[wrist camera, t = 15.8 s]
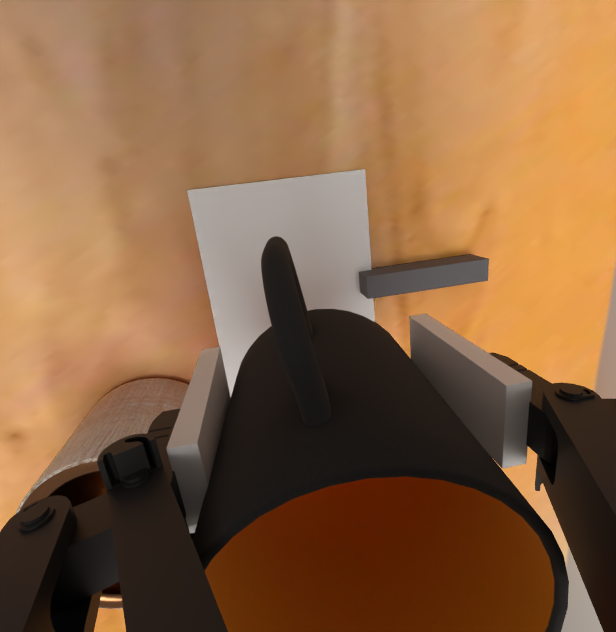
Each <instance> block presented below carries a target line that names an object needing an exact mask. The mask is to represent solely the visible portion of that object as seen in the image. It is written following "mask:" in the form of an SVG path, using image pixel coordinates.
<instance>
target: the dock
mask: <svg viewBox="0 0 616 632" xmlns="http://www.w3.org/2000/svg"><path fill="white" fill-rule="evenodd" d="M488 264H489V259H488V258H483V257H479V256H475V255H471V254H469V255H462V256H455V257H448V258H441V259H434V260H427V261H421V262H414V263H407V264H400V265H393V266H386V267H379V268H372V270H367V271H360V272H359V284H360V293H361V294H363V295H364V296H365V297H366V298H367V299H372V298H378V297H385V296H391V295H398V294H404V293H411V292H417V291H424V290H430V289H437V288H443V287H450V286H456V285H463V284H469V283H476V282H482V281H488Z"/></svg>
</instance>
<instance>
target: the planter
mask: <svg viewBox="0 0 616 632" xmlns="http://www.w3.org/2000/svg"><path fill="white" fill-rule="evenodd" d="M188 387H189V384H186V383H184V382H180V381H177V380H172V379H166V378H146V379H140V380H135V381H132V382H128V383H126V384H123V385H121V386H119V387H117V388H115V389H114V390H112V391H110V392H109V393H108V394H106V395H105V396H104V397H103V398H101V399H100V400H99V401H98V402H97V403H96V404H95V405H94V407H93V408H92V409H91V410H90V412H89V413H88V414H87V415H86V417H85V418H84V419H83V421H82V422H81V423H80V425H79V426H78V427H77V429H76V430H75V431H74V433H73V434H72V436H71V437H70V438H69V440H68V441H67V442H66V444H65V445H64V446H63V448H62V449H61V450H60V452H59V453H58V454H57V456H56V457H55V458H54V460H53V461H52V462H51V463H50V465H49V466H48V467H47V469H46V470H45V471H44V473H43V474H42V475H41V476H40V478H39V479H38V480H37V482H36V483H35V484H34V485H33V487H32V488H31V489H30V491H29V492H28V493H27V495H26V496H25V497H24V499H23V501H22V502H21V504H20V506H19V508H18V510H17V512H16V514H17V513H18V512H19V511H20V510H22V509H23V508H25V507H26V506H28V505H29V504H31V503H33V502H35V501H38V500H41V499H43V498H46V497H51V496H56V495H59V496H66V497H67V498H68V499H69V500H70V502H71V505H72V507H75V506H77V505H80V504H82V503H85V502H87V501H90V500H92V499H95V498H97V497H99V496H101V495H103V494H105V493H107V490H106V487H105V484H104V481H103V479H102V476H101V473H100V470H99V467H98V464H97V460H98V456H99V455H100V454H101V452H102V451H103V450H104V449H105V448H106V447H108V446H109V445H111V444H112V443H113V442H115V441H117V440H120V439H122V438H124V437H127V436H130V435H134V434H143V433H145V434H147V433H148V430H149V427H150V425H151V423H152V421H153V420H154V419H155V418H156V417H157V416H158V415H159V414H161V413H162V412H163V411H168V410H174V409H180V408H181V406H182V403H183V401H184V398H185V395H186V392H187V390H188ZM185 523H186V525H187V521H186V519H185ZM187 528H188V525H187ZM188 530H189V529H188ZM189 533H190V532H189ZM190 536H191V538H192V540H193V537H194V533H190ZM99 608H107V609H121V608H123V603H122V596H121V589H120V582H117V583H115V584H113V585H111V586H109V587H107V588H105V589H103V590H102V594H101V598H100V603H99Z"/></svg>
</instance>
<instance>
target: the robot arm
mask: <svg viewBox="0 0 616 632" xmlns="http://www.w3.org/2000/svg"><path fill="white" fill-rule="evenodd" d="M409 317H410V345H411V360H412V361H413V363H414V364H415V365H416V366H417V368H418V369H419V370H420V371H421V372H422V374H423V375H424V376H425V377H426V378H427V380H428V381H429V382H430V383H431V384H432V386H433V387H434V388H435V389H436V391H437V392H438V393H439V394H440V395H441V397H442V398H443V399H444V400H445V401H446V403H447V404H448V405H449V406H450V408H451V409H452V410H453V411H454V412H455V414H456V415H457V416H458V417H459V419H460V420H461V421H462V422H463V423H464V425H465V426H466V427H467V428H468V429H469V431H470V432H471V433H472V434H473V436H474V437H475V438H476V439H477V440H478V442H479V443H480V444H481V445H482V446H483V448H484V449H485V450H486V451H487V453H488V454H489V455H490V456H491V457H492V458H493V459H494V460H495V461H496V462H497V463H498V464H499V465H500V467H501V468H507V467H511V466H516V465H521V464H526V459H527V446H529V447H530V448H531V449H532V450H533V451H534V452H535V453H537V454H538V456H537V468H536V479H535V490H536V491H540V485H541V484H542V483H543V484H544V487H545V489H546V492H547V494H548V496H549V499H550V501H551V504H552V506H553V509H554V511H555V513H556V516H557V518H558V521H559V523H560V526H561V528H562V531H563V533H564V536H565V538H566V540H567V543H568V545H569V548H570V550H571V553H572V555H573V558H574V560H575V562H576V565H577V567H578V570H579V572H580V575H581V577H582V580H583V582H584V584H585V587H586V589H587V592H588V594H589V597H590V599H591V602H592V604H593V607H594V609H595V611H596V614H597V616H598V619H599V621H600V624H601V626H602V628H603V631H604V632H616V399H602V398H601V397H600V396H599V395H598V394H597V393H595V392H594V391H593V390H590V389H588V388H586V387H583V386H579V385H575V384H569V383H553V384H552V383H550V382H548V381H547V380H545V379H543V378H542V377H540V376H538V375H537V374H535V373H533V372H532V371H530V370H527V368H525V367H523V366H522V365H518V363H517V362H515V361H513V360H512V359H510V358H508V357H506V356H503V355H499V354H496V353H487V352H486V351H484V350H483V349H481V348H479V347H478V346H476V345H475V344H473V343H472V342H470V341H468V340H467V339H465V338H464V337H462V336H460V335H459V334H457V333H456V332H454V331H453V330H451V329H449V328H448V327H446V326H445V325H443V324H441V323H440V322H438V321H437V320H435V319H434V318H432V317H430V316H429V315H427V314H421V315H414V316H409ZM230 399H231V397H230V392H229V387H228V382H227V377H226V373H225V368H224V363H223V358H222V353H221V348H220V347H215V348H209V349H203V350H202V351H201V353H200V356H199V359H198V362H197V364H196V367H195V370H194V373H193V376H192V378H191V381H190V384H189V387H188V390H187V392H186V395H185V398H184V401H183V403H182V406H181V408H180V409H174V410H168V411H163V412H162V413H161V414H159V415H158V416H157V417H156V418H155V419H154V420H153V421H152V423H151V425H150V427H149V430H148V433H147V434H145V433H143V434H134V435H130V436H127V437H124V438H122V439H120V440H117V441H115V442H113V443H112V444H111V445H109V446H108V447H106V448H105V449H104V450H103V451H102V452H101V454H100V455H99V456H98V460H97V464H98V467H99V470H100V473H101V476H102V479H103V481H104V484H105V487H106V490H107V493H105V494H103V495H101V496H99V497H97V498H95V499H92V500H90V501H87V502H85V503H82V504H80V505H77V506H75V507H72V505H71V502H70V500H69V499H68V498H67V497H66V496H59V495H56V496H51V497H46V498H43V499H41V500H38V501H35V502H33V503H31V504H29V505H28V506H26V507H25V508H23V509H22V510H20V511H19V512H18V513H17V514H15V515H14V516H13V517H12V518H11V519H10V520H9V521H8V522H7V523H6V525H5V526H4V527H3V528H2V530H1V532H0V632H94V627H95V622H96V618H97V613H98V608H99V603H100V598H101V594H102V590H103V589H105V588H107V587H109V586H111V585H113V584H115V583H117V582H120V589H121V596H122V603H123V610H124V618H125V625H126V632H228V630H227V628H226V625H225V622H224V620H223V617H222V615H221V612H220V610H219V607H218V605H217V602H216V599H215V597H214V594H213V592H212V589H211V587H210V584H209V582H208V579H207V576H206V574H205V571H204V569H203V566H202V564H201V561H200V559H199V556H198V553H197V551H196V548H195V546H194V543H193V541H192V538H191V536H190V533H195V529H196V526H197V522H198V518H199V514H200V511H201V507H202V503H203V500H204V497H205V494H206V491H207V488H208V485H209V481H210V477H211V473H212V469H213V465H214V461H215V457H216V453H217V449H218V445H219V441H220V437H221V433H222V429H223V425H224V421H225V418H226V414H227V410H228V406H229V403H230ZM185 519H186V521H187V525H188V528H187V525H186V523H185ZM188 529H189V530H188ZM189 532H190V533H189Z"/></svg>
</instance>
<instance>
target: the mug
mask: <svg viewBox="0 0 616 632" xmlns="http://www.w3.org/2000/svg"><path fill="white" fill-rule="evenodd" d="M261 271H262V280H263V287H264V293H265V298H266V303H267V308H268V313H269V317H270V321H271V325H272V326H270V327H269V328H268V329H267V330H266V331H265V332H263V333H262V334H261V335H260V336H259V337H258V338H257V339H256V340H255V342H254V343H253V344H252V345H251V346H250V348H249V349H248V351H247V353H246V354H245V356H244V358H243V360H242V362H241V365H240V368H239V371H238V374H237V377H236V380H235V384H234V388H233V392H232V395H231V399H230V403H229V406H228V410H227V414H226V418H225V421H224V425H223V429H222V433H221V437H220V441H219V445H218V449H217V453H216V457H215V461H214V465H213V469H212V473H211V477H210V481H209V485H208V488H207V491H206V494H205V497H204V500H203V503H202V507H201V511H200V514H199V518H198V522H197V526H196V529H195V533H194V537H193V540H192V541H193V543H194V546H195V548H196V551H197V553H198V556H199V559H200V561H201V564H202V566H203V569H204V571H205V574H206V576H207V579H208V582H209V584H210V587H211V589H212V592H213V594H214V597H215V599H216V602H217V605H218V607H219V610H220V612H221V615H222V617H223V620H224V622H225V625H226V628H227V630H228V632H561V629H562V625H563V622H564V619H565V615H566V611H567V607H568V585H569V581H568V576H567V571H566V566H565V561H564V556H563V554H562V552H561V550H560V547H559V545H558V543H557V541H556V539H555V537H554V535H553V533H552V531H551V530H550V529H549V528H548V526H547V525H546V524H545V523H544V521H543V520H542V519H541V518H540V516H539V515H538V514H537V513H536V511H535V510H534V509H533V508H532V507H531V505H530V504H529V503H528V502H527V500H526V499H525V498H524V497H523V495H522V494H521V493H520V492H519V490H518V489H517V488H516V487H515V485H514V484H513V483H512V482H511V481H510V479H509V478H508V477H507V476H506V474H505V473H504V472H503V471H502V470H501V468H500V467H499V466H498V465H497V464H496V462H495V461H494V460H493V459H492V457H491V456H490V455H489V454H488V453H487V451H486V450H485V449H484V448H483V446H482V445H481V444H480V443H479V442H478V440H477V439H476V438H475V437H474V436H473V434H472V433H471V432H470V431H469V429H468V428H467V427H466V426H465V425H464V423H463V422H462V421H461V420H460V419H459V417H458V416H457V415H456V414H455V412H454V411H453V410H452V409H451V408H450V406H449V405H448V404H447V403H446V401H445V400H444V399H443V398H442V397H441V395H440V394H439V393H438V392H437V391H436V389H435V388H434V387H433V386H432V384H431V383H430V382H429V381H428V380H427V378H426V377H425V376H424V375H423V374H422V372H421V371H420V370H419V369H418V368H417V366H416V365H415V364H414V363H413V361H412V360H411V359H410V358H409V357H408V355H407V354H406V353H405V352H404V351H403V349H402V348H401V347H400V346H399V344H398V343H397V342H396V341H395V340H394V338H393V337H392V336H391V335H390V334H389V333H388V332H387V331H386V330H385V329H383V328H382V327H381V326H380V325H378V324H377V323H375V322H374V321H372V320H370V319H368V318H366V317H364V316H362V315H359V314H356V313H353V312H350V311H345V310H338V309H314V310H309V311H307V308H306V304H305V300H304V297H303V293H302V290H301V286H300V283H299V279H298V276H297V272H296V269H295V266H294V262H293V259H292V256H291V253H290V250H289V247H288V244H287V243H286V241H285V240H284V239H283V238H281V237H278V236H274V237H272V238H270V239H269V240H268V241H267V243H266V245H265V248H264V250H263V253H262V257H261Z"/></svg>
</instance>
